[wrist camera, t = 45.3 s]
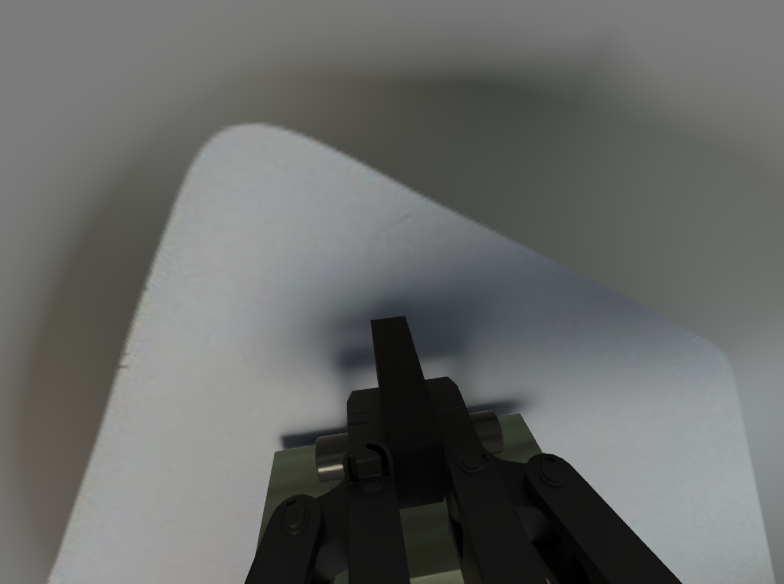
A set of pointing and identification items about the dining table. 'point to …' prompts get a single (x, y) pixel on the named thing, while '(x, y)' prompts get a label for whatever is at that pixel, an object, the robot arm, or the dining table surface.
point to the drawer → (419, 524)
